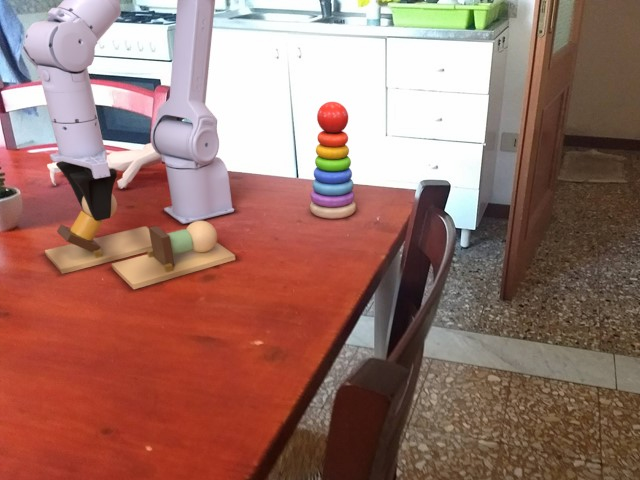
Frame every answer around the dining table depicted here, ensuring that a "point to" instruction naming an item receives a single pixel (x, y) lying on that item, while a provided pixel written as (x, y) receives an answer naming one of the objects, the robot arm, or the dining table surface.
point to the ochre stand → (101, 250)
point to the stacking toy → (332, 166)
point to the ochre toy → (85, 228)
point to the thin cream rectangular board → (169, 266)
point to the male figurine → (123, 163)
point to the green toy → (182, 241)
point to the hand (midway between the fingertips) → (96, 213)
